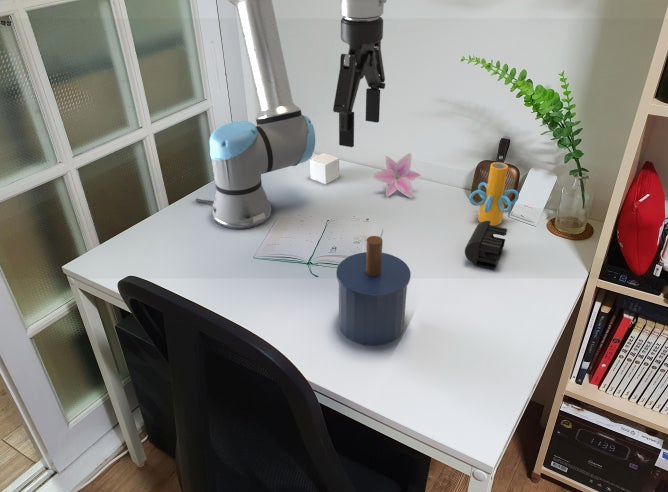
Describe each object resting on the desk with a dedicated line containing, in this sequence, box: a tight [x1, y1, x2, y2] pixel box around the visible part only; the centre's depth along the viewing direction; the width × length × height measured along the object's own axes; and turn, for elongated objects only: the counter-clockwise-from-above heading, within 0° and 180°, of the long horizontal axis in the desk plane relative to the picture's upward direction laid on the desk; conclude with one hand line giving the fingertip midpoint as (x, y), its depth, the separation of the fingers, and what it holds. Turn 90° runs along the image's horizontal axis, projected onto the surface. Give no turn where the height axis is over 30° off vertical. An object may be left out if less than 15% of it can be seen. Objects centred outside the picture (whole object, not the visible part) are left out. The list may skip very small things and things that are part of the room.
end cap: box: [464, 221, 508, 271], centre depth 128 cm, size 10×7×7 cm
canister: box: [338, 282, 408, 347], centre depth 107 cm, size 13×13×12 cm
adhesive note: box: [309, 152, 340, 185], centre depth 162 cm, size 6×6×6 cm
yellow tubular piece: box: [468, 161, 520, 227], centre depth 138 cm, size 12×10×15 cm
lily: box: [372, 152, 422, 199], centre depth 155 cm, size 12×12×10 cm
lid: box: [335, 235, 412, 297], centre depth 101 cm, size 14×14×8 cm
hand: (359, 133), depth 111 cm, fingers open, 13 cm apart
